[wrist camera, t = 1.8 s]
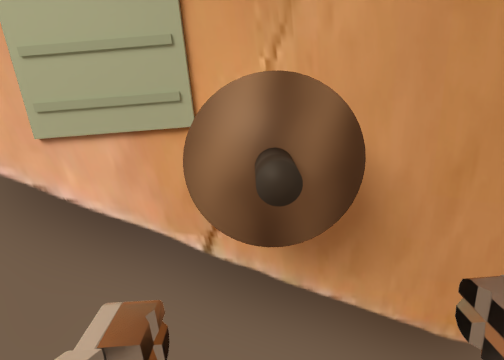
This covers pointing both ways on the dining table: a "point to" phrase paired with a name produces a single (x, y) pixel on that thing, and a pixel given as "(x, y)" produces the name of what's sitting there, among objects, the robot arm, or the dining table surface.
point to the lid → (274, 158)
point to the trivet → (99, 65)
